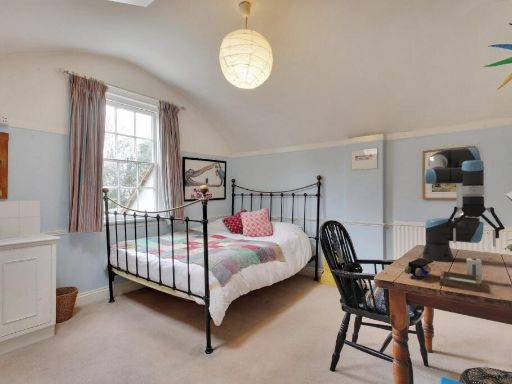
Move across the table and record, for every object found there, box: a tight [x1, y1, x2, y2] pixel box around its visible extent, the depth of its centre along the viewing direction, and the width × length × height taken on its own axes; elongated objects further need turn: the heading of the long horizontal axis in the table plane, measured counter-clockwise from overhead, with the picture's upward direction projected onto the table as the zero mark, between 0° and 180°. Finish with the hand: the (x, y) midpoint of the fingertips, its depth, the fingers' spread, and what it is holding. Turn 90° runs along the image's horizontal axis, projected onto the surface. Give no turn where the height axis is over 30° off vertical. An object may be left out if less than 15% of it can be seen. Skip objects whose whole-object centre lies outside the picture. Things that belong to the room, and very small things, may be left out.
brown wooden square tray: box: [439, 270, 481, 293], centre depth 116 cm, size 13×13×3 cm
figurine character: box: [404, 257, 434, 281], centre depth 127 cm, size 7×8×15 cm
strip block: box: [466, 257, 483, 284], centre depth 121 cm, size 5×5×10 cm
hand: (473, 244), depth 120 cm, fingers open, 13 cm apart
